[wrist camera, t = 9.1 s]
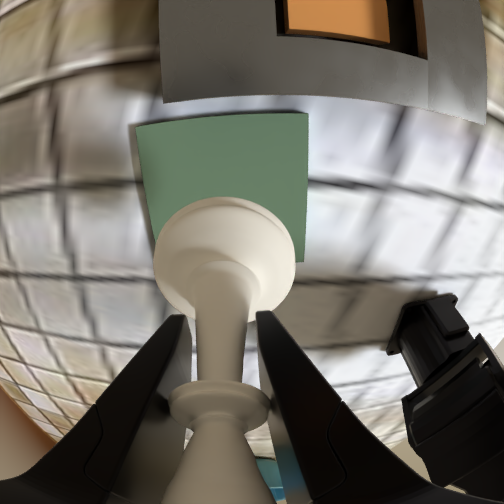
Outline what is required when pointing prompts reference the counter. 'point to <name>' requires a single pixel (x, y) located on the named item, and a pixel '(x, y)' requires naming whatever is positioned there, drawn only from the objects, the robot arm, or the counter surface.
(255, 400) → the chess piece
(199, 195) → the mat
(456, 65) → the breaker guard
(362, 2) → the button
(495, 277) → the counter surface
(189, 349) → the robot arm
